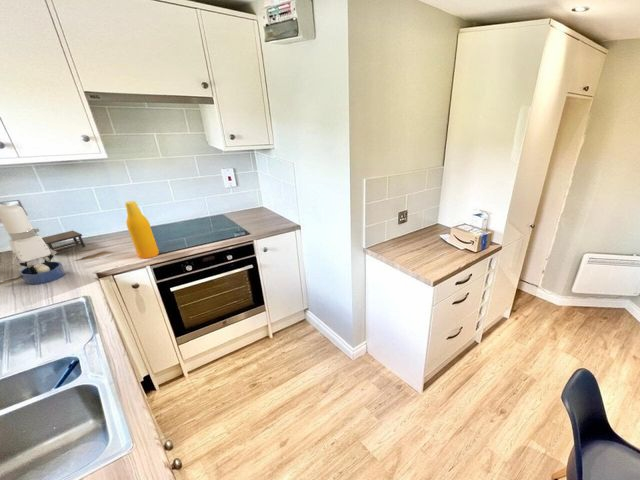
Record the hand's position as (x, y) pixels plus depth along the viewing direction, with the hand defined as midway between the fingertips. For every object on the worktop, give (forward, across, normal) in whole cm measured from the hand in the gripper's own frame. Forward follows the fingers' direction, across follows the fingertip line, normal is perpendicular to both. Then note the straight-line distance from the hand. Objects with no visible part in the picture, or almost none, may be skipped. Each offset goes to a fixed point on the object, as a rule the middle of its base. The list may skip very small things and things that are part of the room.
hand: (42, 271), depth 146 cm
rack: (+3, -17, -25) cm, 30 cm away
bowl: (+3, 0, 0) cm, 3 cm away
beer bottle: (+4, -37, +13) cm, 39 cm away
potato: (+1, 0, 0) cm, 1 cm away
